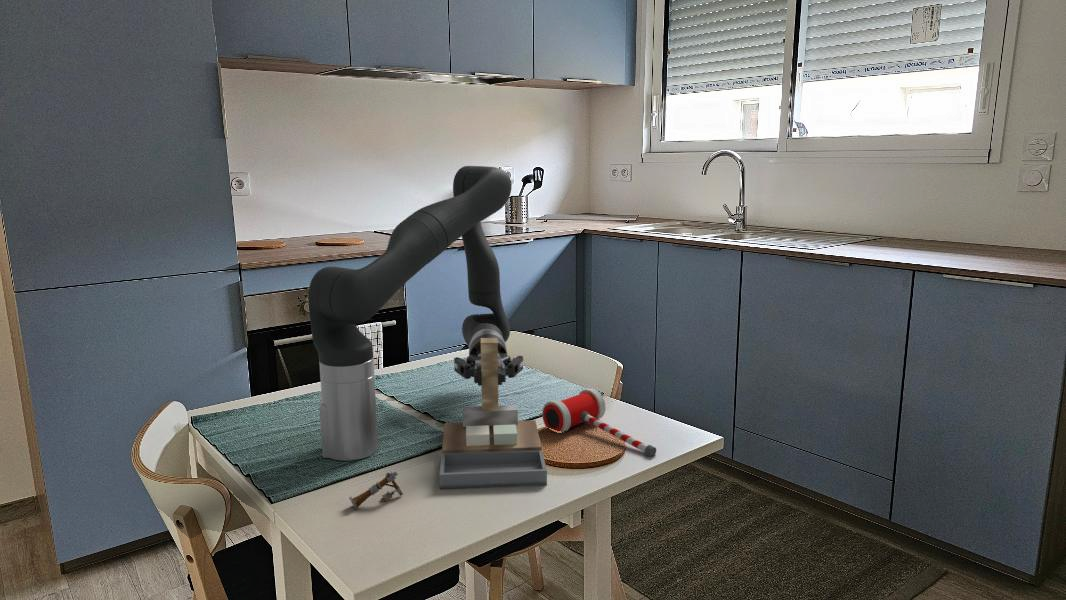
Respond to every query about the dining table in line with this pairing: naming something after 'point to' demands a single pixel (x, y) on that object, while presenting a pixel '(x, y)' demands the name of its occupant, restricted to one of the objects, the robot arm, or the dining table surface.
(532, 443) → the board
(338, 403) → the robot arm
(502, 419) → the scraper
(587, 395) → the toy hammer
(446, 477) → the tray
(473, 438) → the tile
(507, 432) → the tile
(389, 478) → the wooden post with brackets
